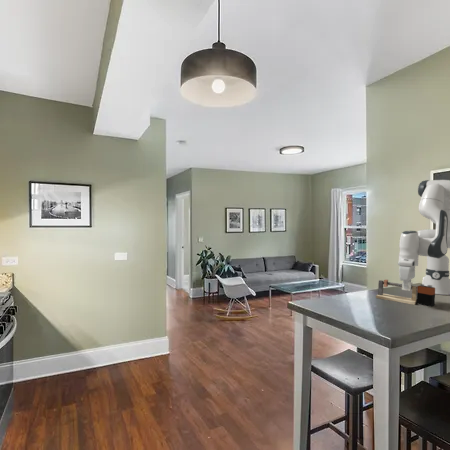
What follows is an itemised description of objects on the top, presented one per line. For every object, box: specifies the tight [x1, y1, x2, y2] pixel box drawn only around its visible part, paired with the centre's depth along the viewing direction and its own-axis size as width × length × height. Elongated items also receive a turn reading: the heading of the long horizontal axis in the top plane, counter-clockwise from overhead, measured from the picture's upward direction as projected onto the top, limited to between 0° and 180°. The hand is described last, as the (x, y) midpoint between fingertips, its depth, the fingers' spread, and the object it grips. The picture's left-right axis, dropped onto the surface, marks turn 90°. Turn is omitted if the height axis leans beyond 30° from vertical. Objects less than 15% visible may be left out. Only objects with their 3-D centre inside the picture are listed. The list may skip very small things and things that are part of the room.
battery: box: [416, 283, 436, 307], centre depth 156 cm, size 4×7×10 cm, turn 37°
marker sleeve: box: [401, 281, 413, 292], centre depth 161 cm, size 4×4×4 cm
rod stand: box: [375, 279, 418, 306], centre depth 164 cm, size 10×18×10 cm, turn 49°
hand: (407, 287), depth 161 cm, fingers closed on marker sleeve, 4 cm apart
